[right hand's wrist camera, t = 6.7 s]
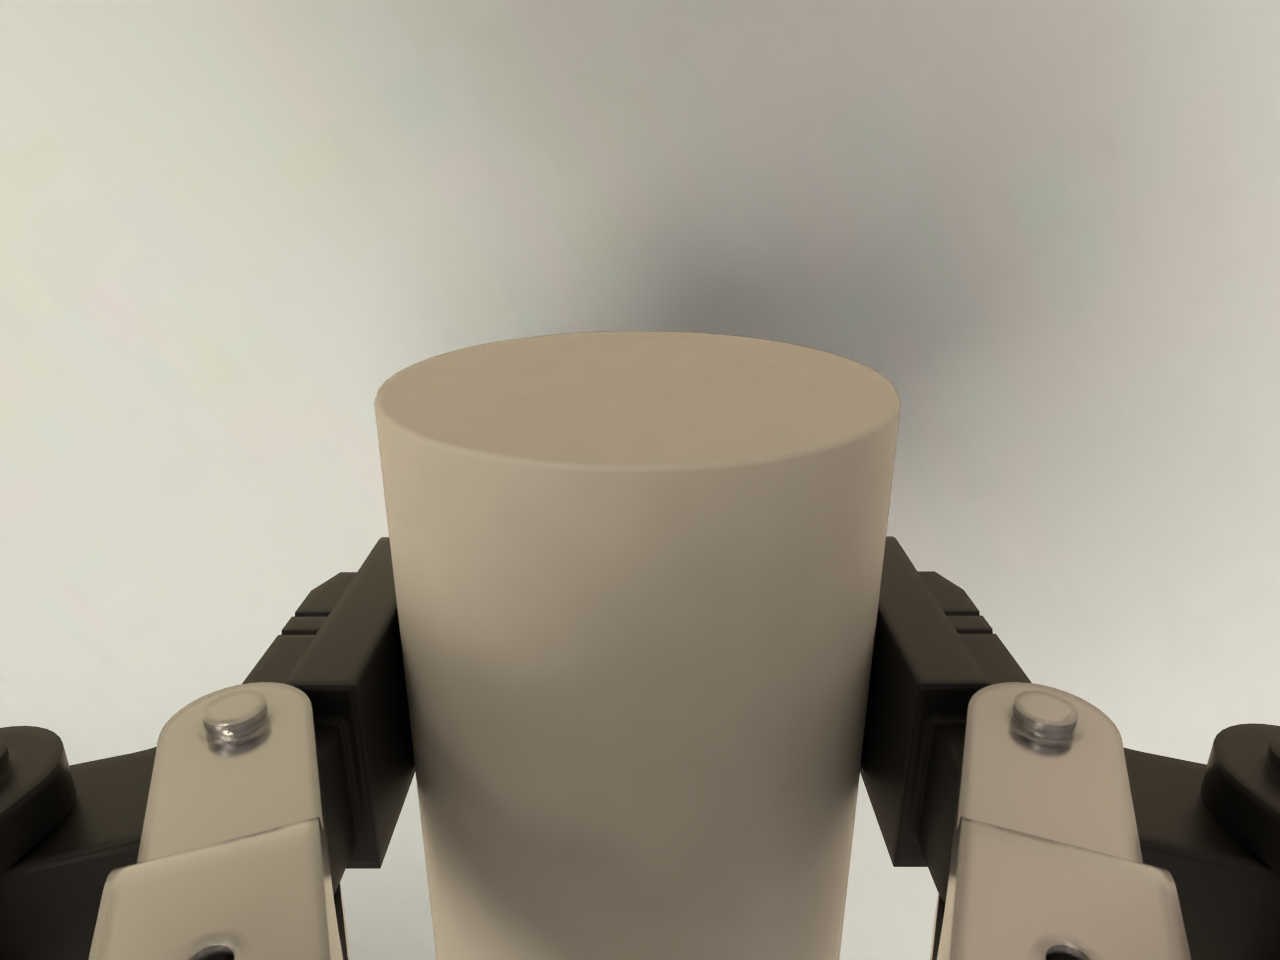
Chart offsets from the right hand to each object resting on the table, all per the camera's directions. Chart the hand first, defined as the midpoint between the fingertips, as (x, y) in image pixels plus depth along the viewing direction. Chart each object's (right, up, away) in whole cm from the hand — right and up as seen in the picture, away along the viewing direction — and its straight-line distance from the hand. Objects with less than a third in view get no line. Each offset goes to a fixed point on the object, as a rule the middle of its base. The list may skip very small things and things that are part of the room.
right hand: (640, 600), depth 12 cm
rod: (0, -7, +4) cm, 8 cm away
